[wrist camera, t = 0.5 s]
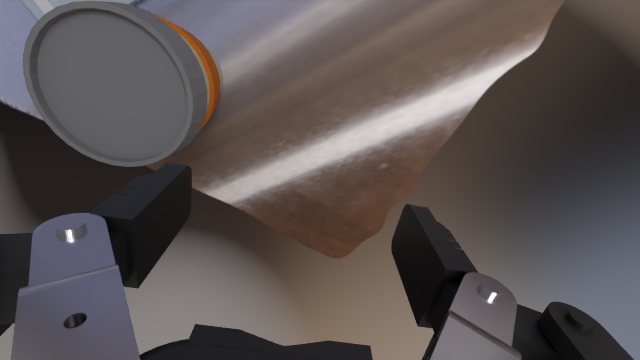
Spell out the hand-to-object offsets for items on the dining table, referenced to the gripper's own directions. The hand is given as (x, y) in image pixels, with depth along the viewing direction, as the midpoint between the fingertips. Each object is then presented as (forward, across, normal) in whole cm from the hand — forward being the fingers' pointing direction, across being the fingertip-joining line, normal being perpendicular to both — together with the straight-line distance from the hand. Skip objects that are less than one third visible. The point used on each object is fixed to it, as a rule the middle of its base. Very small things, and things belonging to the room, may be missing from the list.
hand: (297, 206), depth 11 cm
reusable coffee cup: (+29, +15, +1) cm, 33 cm away
